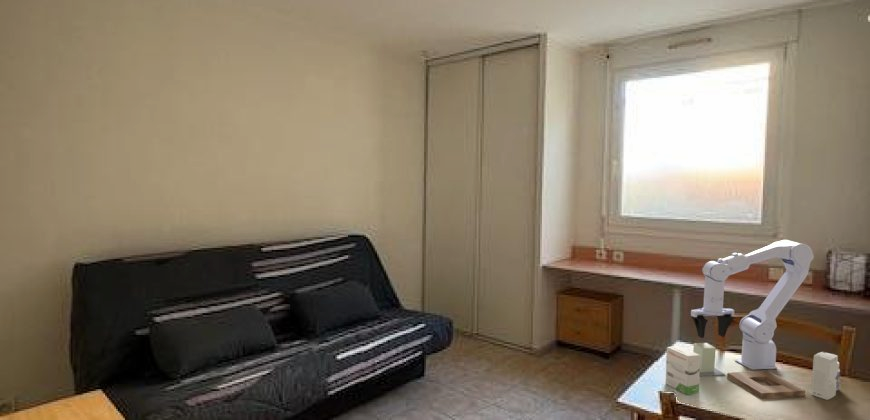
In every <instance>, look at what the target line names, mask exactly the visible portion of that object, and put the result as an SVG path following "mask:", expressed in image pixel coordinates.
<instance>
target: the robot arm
mask: <svg viewBox="0 0 870 420" xmlns="http://www.w3.org/2000/svg"><path fill="white" fill-rule="evenodd" d="M773 258H778V259H780V261H781V262H782V263H783V266H784V267H785V272H784V273H783V274H782V276H781V277H780V278H779V279H778V281H777V282H776V284H775V285H774V287H773V288H772V289H771V290H770V292H769V293H768V295H767V296H766V298H765V299H764V300H763V302H762V303H761V305H760V306H759V307H758V308H757V309H754V310H751V311H750V312H749V314H747V315H746V316H744V317H742V318H741V320H740V321H739V329H740V331H741V332H742V343H741V345H742V346H741V358H734V361H736V363H739V364H741V365H742V366H744V367H745V368H748V369H750V370H752V371H754V370H755V371H758V370H769V369H770V370H772V369H773V370H774V369H778V367H777V366H776V361H777V360H776V359H777V346H776V344H775V342H774V341H773V338H774V334H775V330H776V329H777V327H778V326H777V321H776V319H777V317H778V316H779V315H780V314H781V312H782V310H783V309H784V308H785V307H786V305H787V303H788V302H789V301H790V299H791V298H792V297H793V295H794V294H795V293H796V291H797V290H798V288H799V287H800V286H801V285H802V283H803V282H804V281H805V279H806V278H807V277H808V275H809V272H810V271H809V270H810V266H811V262H812V261H813V259H814V258H815V255H814V252H813V250H812V248H811V247H810V246H809V245H808V244H806V243H800V242H797V241H793V240H790V239H781V240H778V241H774V242H772V243H771V244H769V245H767V246H764V247H762V248H759V249H756V250H753V251H752V252H751V251H750V252H749V253H747V254H743V253H741V252H740V253H739V252H738V253H737V252H733V253H731V255H730V256H727V257H724V258H721V257H720V258H718V259H717V261H716V260H710V261H707V262H706V263H705V264H704V265H703V267H702V269H701V270H702V271H701V272H702V274H703V276H704V288H703V289H704V290H703V306H702V308H696V309H691V310H690V316H691V319H692V321H693V322H694V325H695V329H696V333H697V336H698V337H699V338H700V339H701V338H702V339H704V338H705V333H706V331H705V330H706V325H707V322H708V319H706V318H705V317H714V316H716V317H717V323H718V325H717V328H718V330H717V334H718V336H720V337H722V338H724V337H726V334H727V331H728V329H729V327H730V325H731V324H732V323H733V321H734V319H735V317H733V316H735V310H734V309H733V308H724V295H725V294H724V293H725V292H724V291H725V281H726V280H727V279H728V278H729V276H731V275H734V274H737V273H740V272H743V271H746V270H748V269H749V268H750V266H751V265H753V264H755V263H759V262H763V261H766V260H770V259H773Z"/></svg>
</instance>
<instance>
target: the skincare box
mask: <svg viewBox="0 0 870 420" xmlns="http://www.w3.org/2000/svg"><path fill="white" fill-rule="evenodd" d="M838 358H839V355H836V354H835V353H829V352H826V351H820V352H818V353H815V354H814V355H813V359H812V360H813V361H812V374H811V375H812V378H811V390H810V391H811V392H810V394H811V395H812V396H814V397H816V398H819V399H824V400H826V401H828V400H831V399H832V398H834V397H836V394H837V390H836V381H837V365H838V362H839V361H838V360H839V359H838Z"/></svg>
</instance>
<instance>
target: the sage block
mask: <svg viewBox="0 0 870 420" xmlns="http://www.w3.org/2000/svg"><path fill="white" fill-rule="evenodd" d="M692 352H694V353H696V354H699V355H700V372H714V368H716V366H715V365H716V364H715V363H716V347H715V346H713V345H711V344H710V343H708V342H697V343H696V342H694V343H693V350H692Z"/></svg>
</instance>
